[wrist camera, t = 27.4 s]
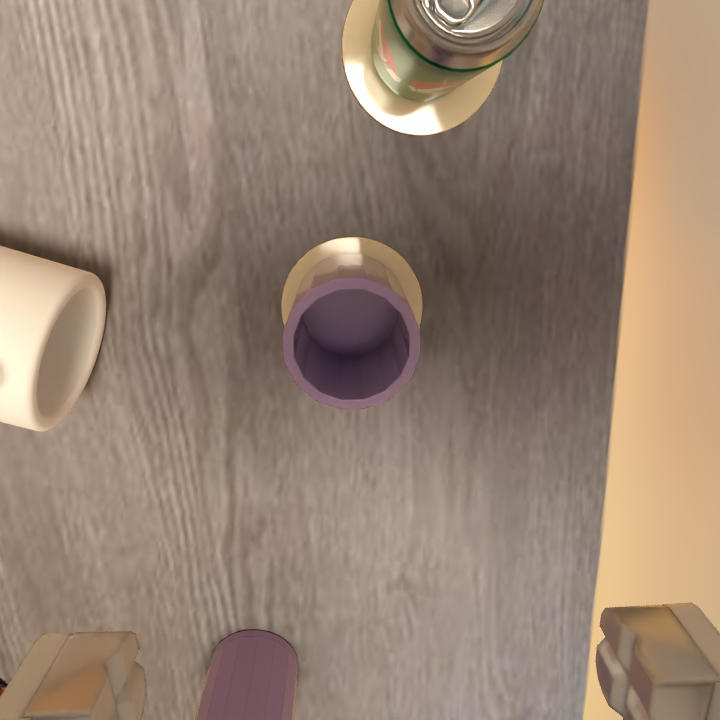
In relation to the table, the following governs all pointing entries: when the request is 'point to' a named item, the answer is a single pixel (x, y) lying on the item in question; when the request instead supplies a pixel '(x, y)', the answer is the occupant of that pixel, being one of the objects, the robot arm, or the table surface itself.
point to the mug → (46, 337)
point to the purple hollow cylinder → (250, 679)
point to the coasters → (398, 118)
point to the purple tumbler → (351, 333)
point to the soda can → (445, 41)
